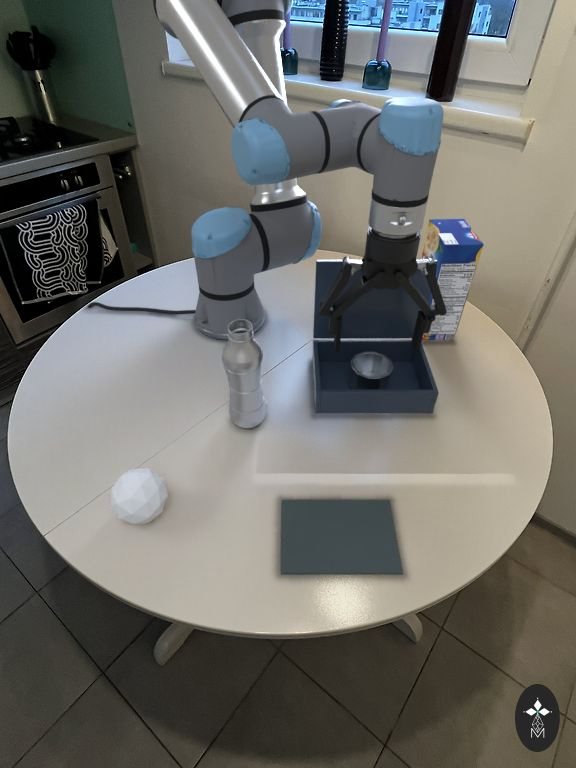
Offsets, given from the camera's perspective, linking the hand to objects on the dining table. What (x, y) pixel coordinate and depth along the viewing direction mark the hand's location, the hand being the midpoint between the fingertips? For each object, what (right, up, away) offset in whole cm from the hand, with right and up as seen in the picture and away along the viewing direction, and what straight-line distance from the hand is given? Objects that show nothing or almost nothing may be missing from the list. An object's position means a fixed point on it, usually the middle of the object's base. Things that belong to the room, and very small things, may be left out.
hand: (375, 347), depth 78 cm
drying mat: (-8, -28, -15) cm, 32 cm away
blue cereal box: (+16, +6, +21) cm, 27 cm away
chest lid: (0, +8, +3) cm, 9 cm away
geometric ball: (-36, -25, -12) cm, 46 cm away
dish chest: (0, -7, +7) cm, 10 cm away
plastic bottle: (-22, -13, +1) cm, 26 cm away
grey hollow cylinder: (0, -6, +6) cm, 9 cm away
